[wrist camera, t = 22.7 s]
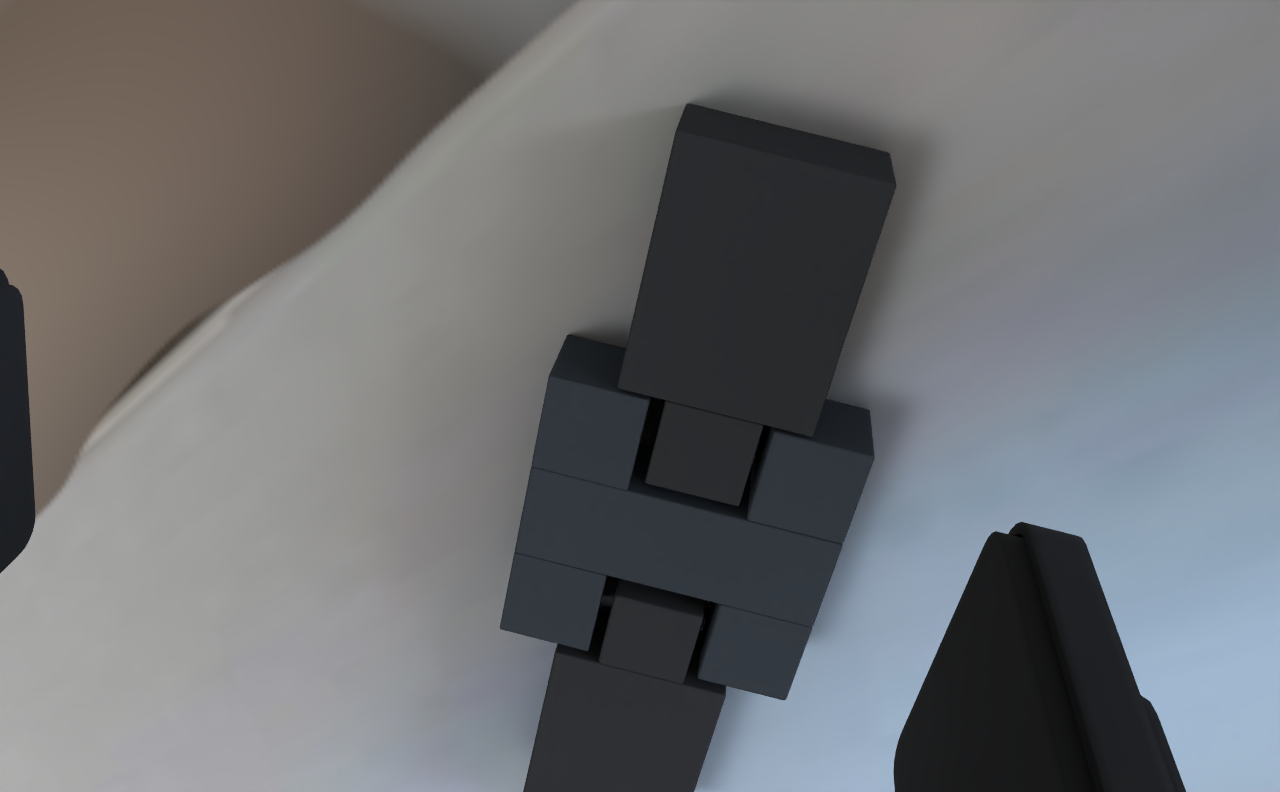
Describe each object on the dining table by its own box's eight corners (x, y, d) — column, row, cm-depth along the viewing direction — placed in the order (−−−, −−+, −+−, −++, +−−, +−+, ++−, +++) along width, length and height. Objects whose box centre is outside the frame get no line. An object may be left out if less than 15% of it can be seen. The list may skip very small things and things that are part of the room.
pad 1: (585, 532, 41) (570, 584, 38) (752, 574, 41) (748, 629, 38) (535, 753, 46) (518, 812, 43) (682, 791, 46) (674, 852, 43)
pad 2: (686, 102, 33) (676, 129, 31) (890, 152, 33) (897, 184, 30) (612, 424, 38) (597, 471, 36) (787, 468, 38) (786, 519, 36)
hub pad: (567, 333, 37) (548, 375, 35) (870, 409, 37) (875, 457, 34) (519, 576, 42) (499, 629, 39) (787, 644, 42) (785, 701, 39)
